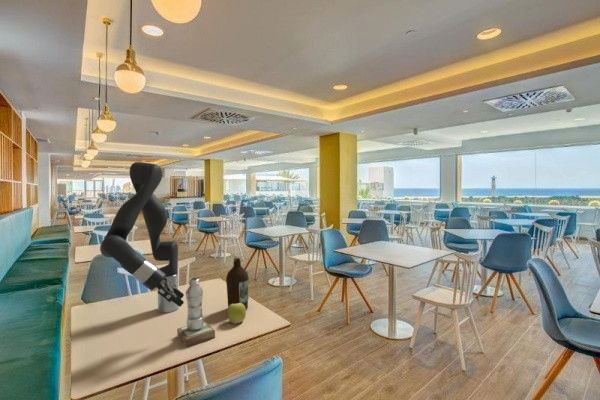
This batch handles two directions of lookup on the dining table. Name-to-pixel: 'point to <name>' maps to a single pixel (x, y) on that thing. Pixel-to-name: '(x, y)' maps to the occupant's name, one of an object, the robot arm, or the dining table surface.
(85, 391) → the dining table surface
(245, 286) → the olive oil
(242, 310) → the apple
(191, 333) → the walnut base
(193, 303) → the plastic bottle
